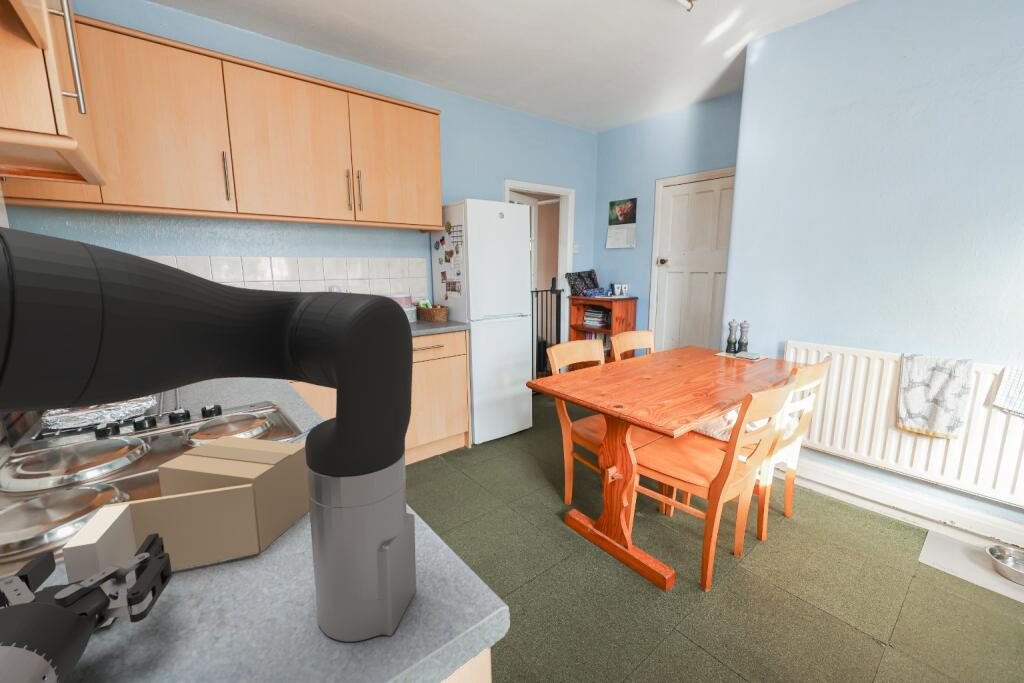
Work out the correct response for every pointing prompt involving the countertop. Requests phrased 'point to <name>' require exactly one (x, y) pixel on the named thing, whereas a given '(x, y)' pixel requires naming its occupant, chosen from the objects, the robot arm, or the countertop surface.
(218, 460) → the kraft carton
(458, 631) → the countertop surface
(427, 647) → the countertop surface
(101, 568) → the carton flap
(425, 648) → the countertop surface
